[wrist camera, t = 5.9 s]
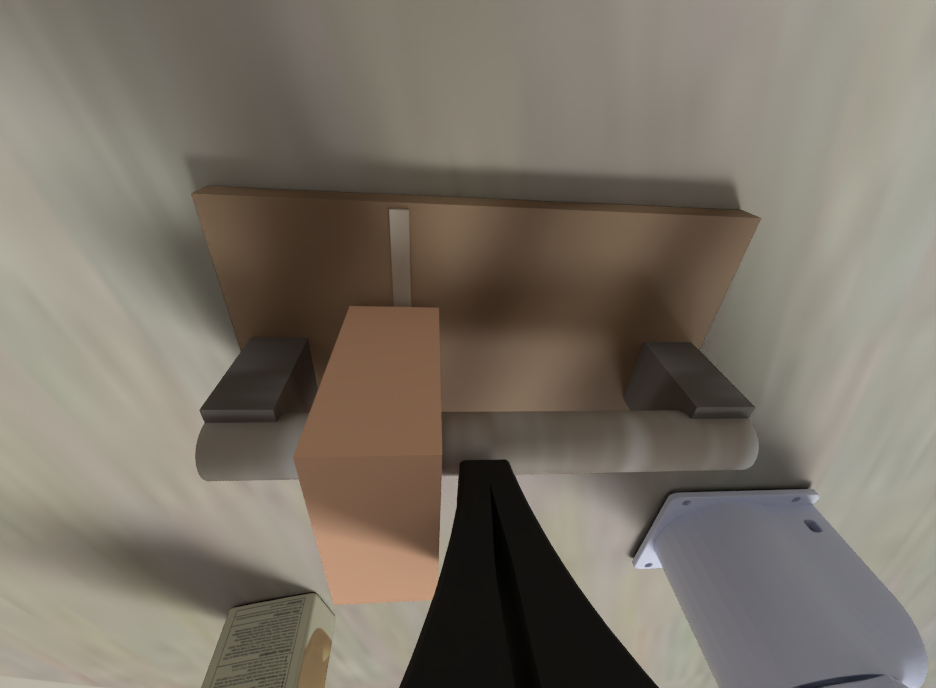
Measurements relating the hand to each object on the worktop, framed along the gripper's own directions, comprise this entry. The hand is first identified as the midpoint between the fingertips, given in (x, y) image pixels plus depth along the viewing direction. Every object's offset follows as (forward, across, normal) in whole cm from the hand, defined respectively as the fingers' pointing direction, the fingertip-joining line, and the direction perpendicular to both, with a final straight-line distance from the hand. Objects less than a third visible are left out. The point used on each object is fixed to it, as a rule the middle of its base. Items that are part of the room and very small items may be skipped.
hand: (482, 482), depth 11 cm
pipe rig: (+6, 0, 0) cm, 6 cm away
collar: (+5, +3, 0) cm, 5 cm away
